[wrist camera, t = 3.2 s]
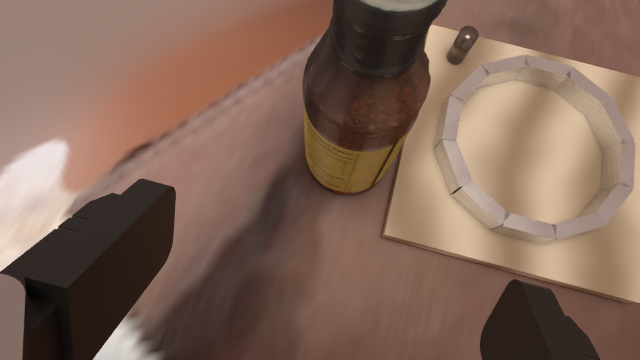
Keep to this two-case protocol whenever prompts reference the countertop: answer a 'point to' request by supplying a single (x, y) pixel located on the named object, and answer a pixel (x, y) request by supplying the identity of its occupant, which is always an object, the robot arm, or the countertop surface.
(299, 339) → the countertop surface
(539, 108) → the maple board
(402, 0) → the sauce bottle
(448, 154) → the white segmented ring
